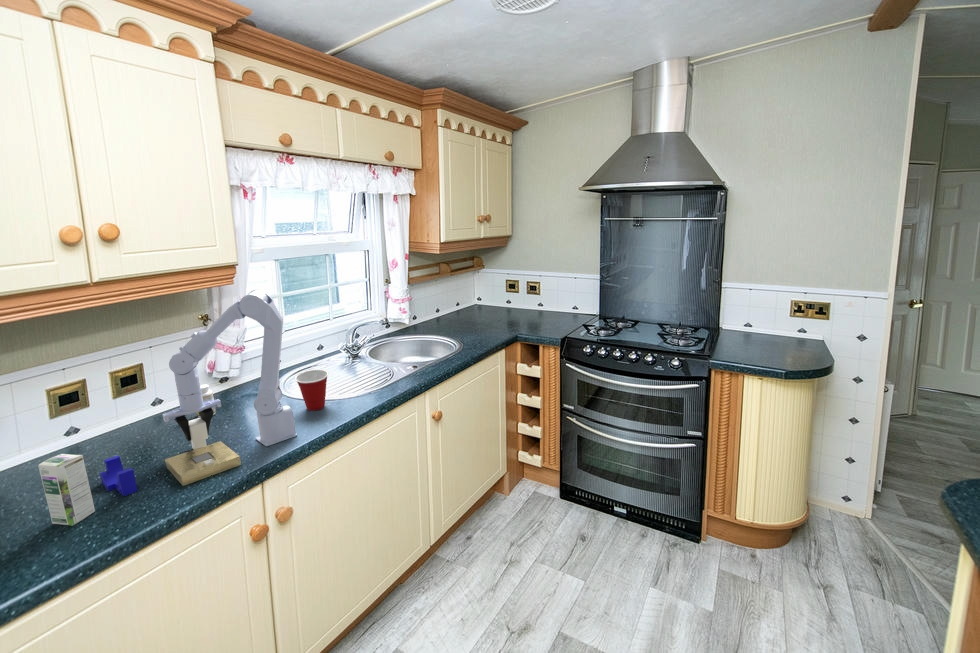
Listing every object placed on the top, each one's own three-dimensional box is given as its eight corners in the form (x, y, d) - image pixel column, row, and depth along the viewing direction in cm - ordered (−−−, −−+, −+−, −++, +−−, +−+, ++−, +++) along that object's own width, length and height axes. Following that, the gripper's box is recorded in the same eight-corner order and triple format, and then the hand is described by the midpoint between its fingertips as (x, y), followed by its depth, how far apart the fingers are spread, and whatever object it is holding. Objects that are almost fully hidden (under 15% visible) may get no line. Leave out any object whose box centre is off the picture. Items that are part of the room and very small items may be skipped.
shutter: (208, 454, 140) (207, 452, 140) (213, 459, 137) (213, 457, 137) (192, 460, 137) (191, 458, 137) (197, 464, 134) (196, 462, 134)
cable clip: (101, 483, 131) (97, 462, 129) (122, 476, 134) (118, 455, 133) (116, 499, 123) (111, 477, 122) (137, 491, 126) (133, 469, 125)
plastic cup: (293, 414, 170) (289, 380, 168) (306, 402, 181) (301, 369, 178) (325, 413, 170) (321, 379, 167) (336, 401, 180) (332, 369, 178)
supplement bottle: (196, 415, 173) (190, 386, 170) (214, 410, 176) (209, 382, 174) (199, 419, 169) (193, 390, 166) (217, 415, 172) (212, 386, 170)
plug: (204, 442, 152) (199, 417, 150) (210, 448, 148) (205, 422, 146) (189, 447, 149) (184, 422, 147) (194, 453, 145) (190, 426, 143)
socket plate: (221, 449, 147) (220, 438, 146) (241, 464, 138) (239, 453, 137) (166, 467, 137) (164, 456, 137) (183, 485, 128) (180, 473, 127)
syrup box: (51, 524, 114) (35, 465, 110) (76, 509, 119) (62, 452, 116) (72, 526, 113) (57, 466, 109) (97, 511, 118) (83, 453, 115)
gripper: (212, 382, 152) (219, 425, 155) (156, 396, 142) (165, 441, 145) (220, 387, 147) (228, 431, 151) (163, 402, 137) (172, 449, 140)
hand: (197, 436), depth 148 cm, fingers closed on plug, 4 cm apart
